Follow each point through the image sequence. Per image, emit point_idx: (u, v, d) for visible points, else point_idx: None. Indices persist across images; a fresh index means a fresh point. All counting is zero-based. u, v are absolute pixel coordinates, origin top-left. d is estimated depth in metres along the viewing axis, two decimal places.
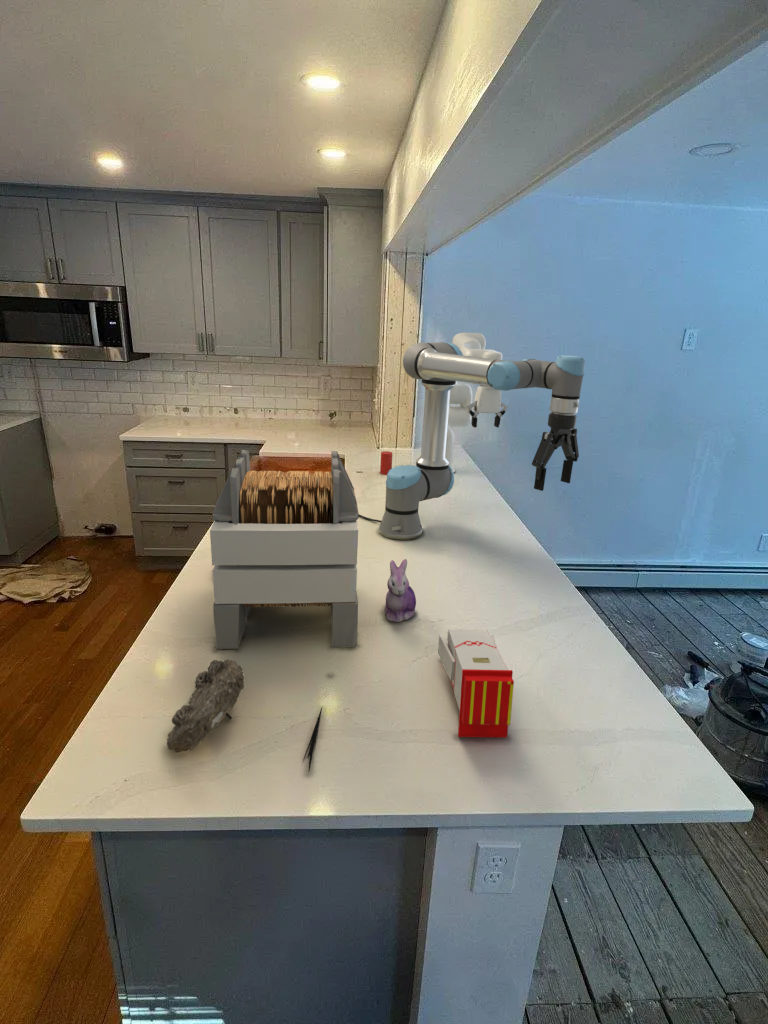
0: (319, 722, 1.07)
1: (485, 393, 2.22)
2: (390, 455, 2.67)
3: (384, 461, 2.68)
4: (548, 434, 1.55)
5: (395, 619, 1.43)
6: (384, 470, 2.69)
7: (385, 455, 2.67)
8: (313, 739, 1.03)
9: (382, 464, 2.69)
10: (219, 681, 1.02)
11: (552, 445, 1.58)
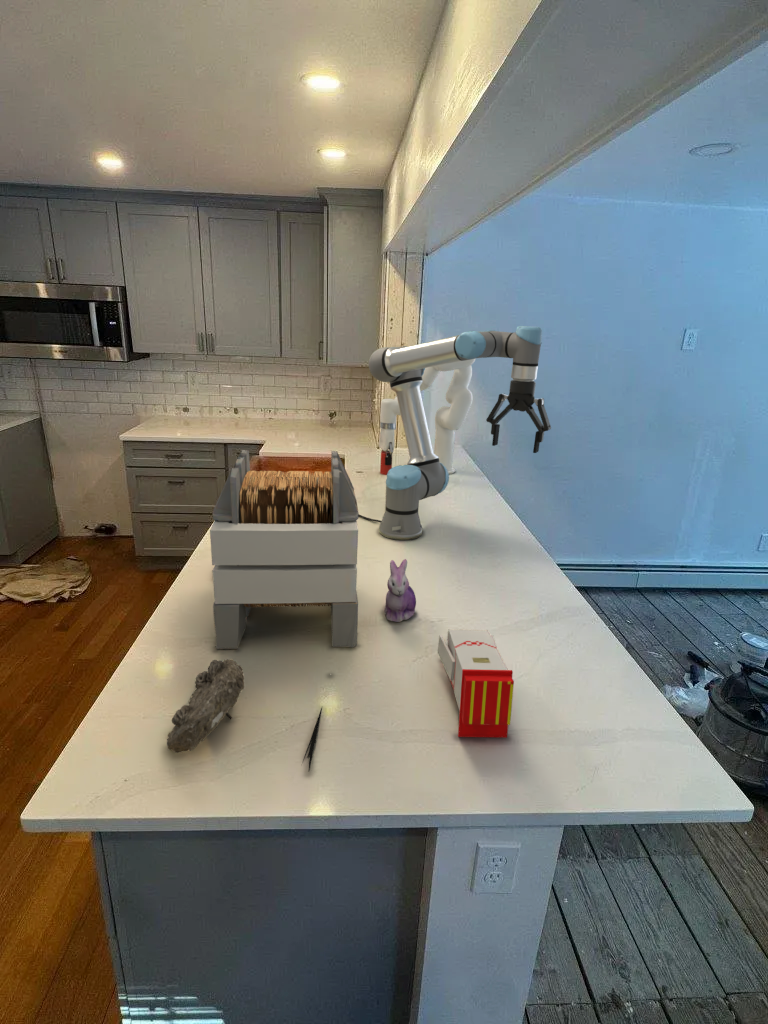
0: (319, 722, 1.07)
1: (394, 434, 2.64)
2: None
3: (384, 461, 2.68)
4: (543, 399, 1.70)
5: (395, 619, 1.43)
6: (384, 470, 2.69)
7: (385, 455, 2.67)
8: (313, 739, 1.03)
9: (382, 464, 2.69)
10: (219, 681, 1.02)
11: (532, 409, 1.73)
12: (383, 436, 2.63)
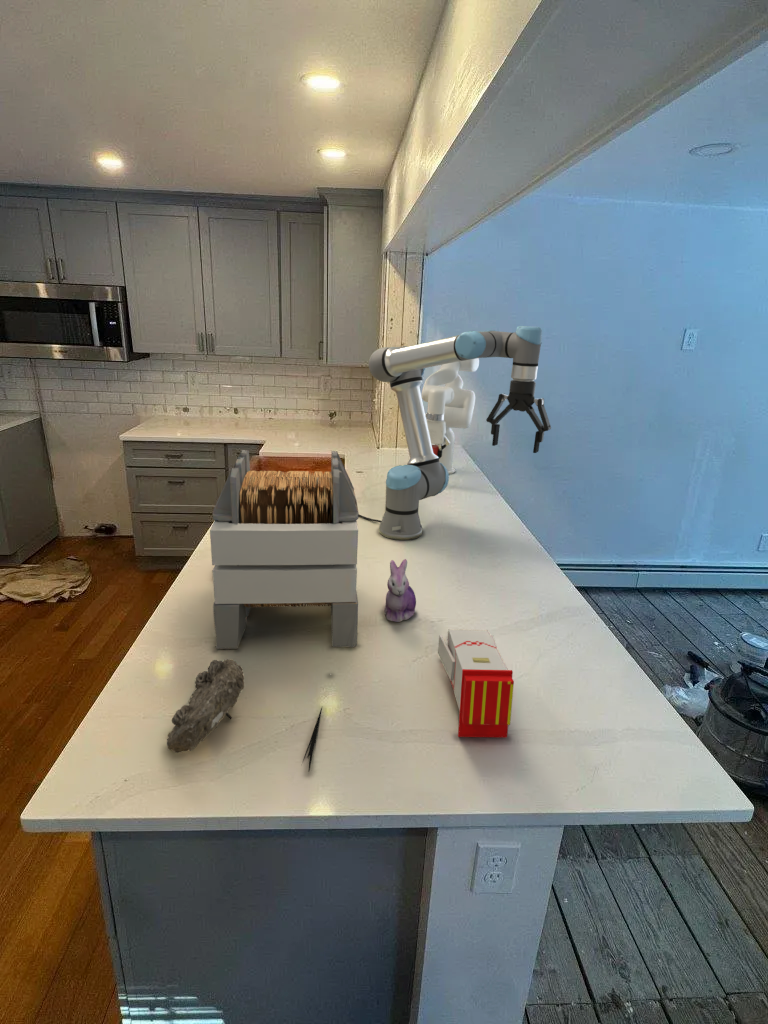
0: (319, 722, 1.07)
1: None
2: None
3: None
4: (543, 399, 1.70)
5: (395, 619, 1.43)
6: None
7: (437, 449, 2.50)
8: (313, 739, 1.03)
9: None
10: (219, 681, 1.02)
11: (532, 409, 1.73)
12: (437, 429, 2.46)
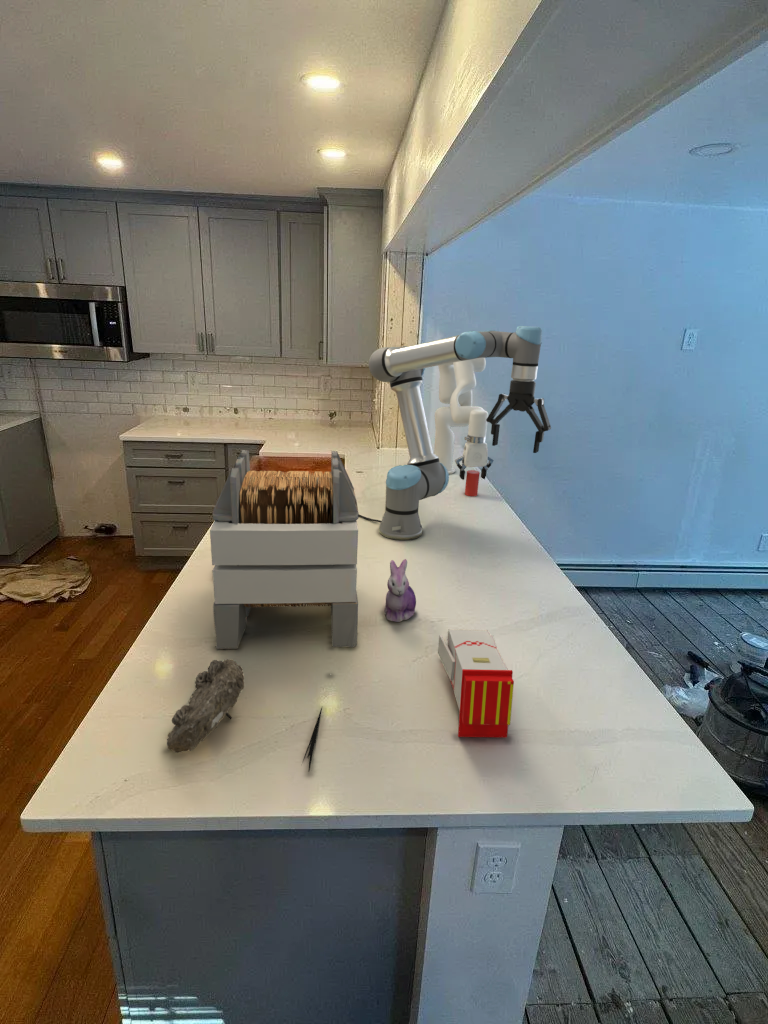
0: (319, 722, 1.07)
1: None
2: None
3: (478, 481, 2.43)
4: (543, 399, 1.70)
5: (395, 619, 1.43)
6: (477, 490, 2.45)
7: None
8: (313, 739, 1.03)
9: (477, 485, 2.43)
10: (219, 681, 1.02)
11: (532, 409, 1.73)
12: (483, 451, 2.38)
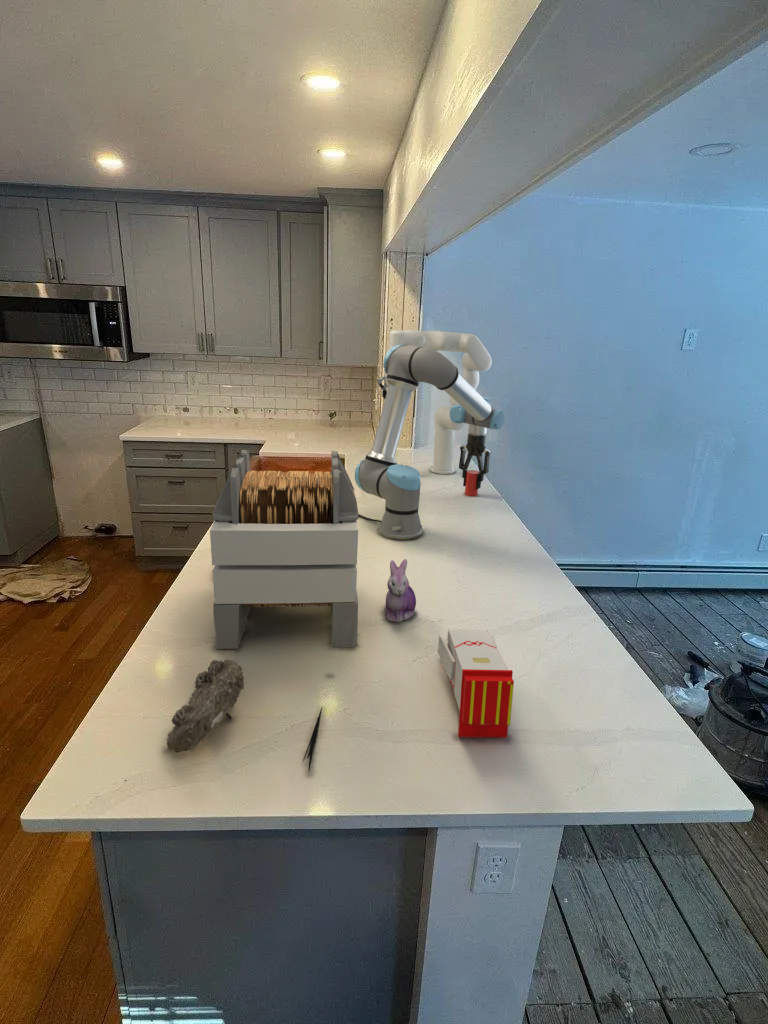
0: (319, 722, 1.07)
1: None
2: None
3: None
4: (490, 452, 2.37)
5: (395, 619, 1.43)
6: (477, 490, 2.45)
7: None
8: (313, 739, 1.03)
9: None
10: (219, 681, 1.02)
11: (481, 457, 2.40)
12: None
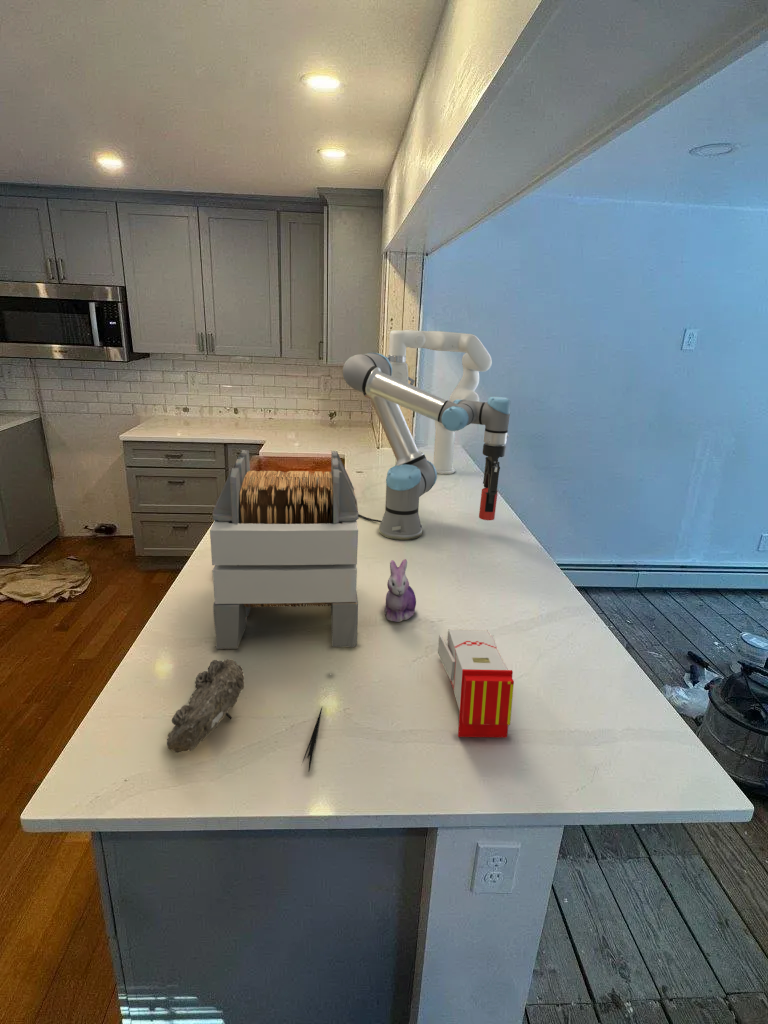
0: (319, 722, 1.07)
1: None
2: None
3: None
4: (498, 468, 1.87)
5: (395, 619, 1.43)
6: (490, 515, 1.97)
7: None
8: (313, 739, 1.03)
9: None
10: (219, 681, 1.02)
11: None
12: (403, 370, 2.49)
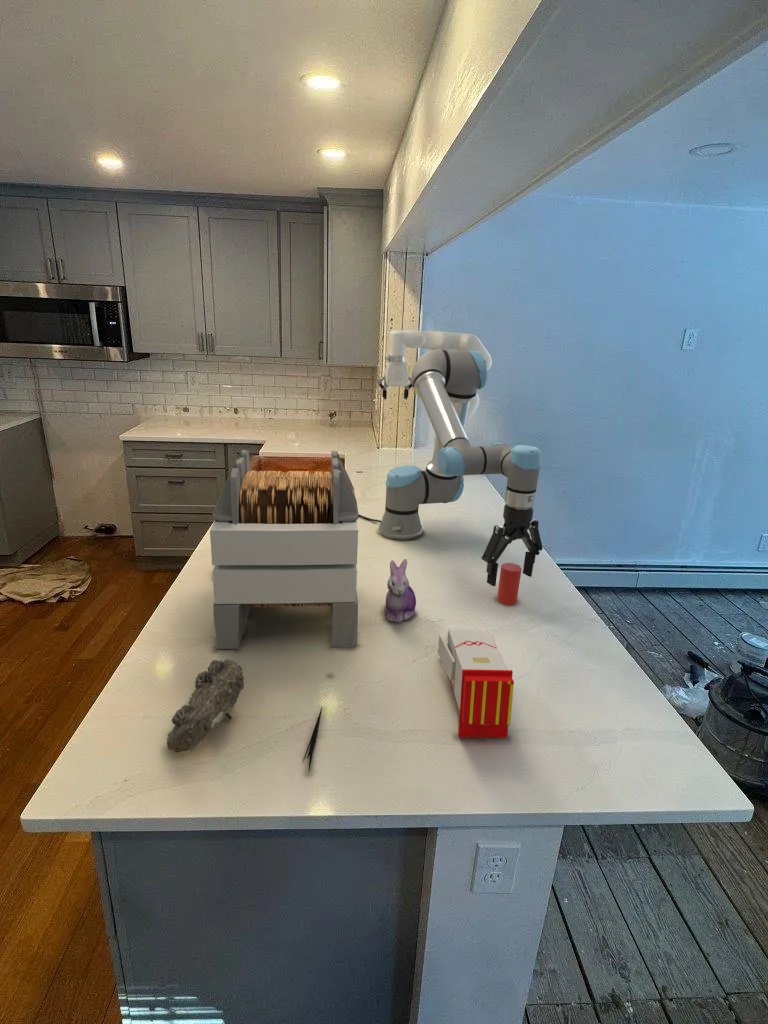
0: (319, 722, 1.07)
1: None
2: (515, 574, 1.51)
3: (503, 582, 1.53)
4: (498, 529, 1.46)
5: (395, 619, 1.43)
6: (502, 597, 1.54)
7: (506, 572, 1.52)
8: (313, 739, 1.03)
9: (500, 585, 1.55)
10: (219, 681, 1.02)
11: (505, 539, 1.48)
12: (403, 370, 2.49)
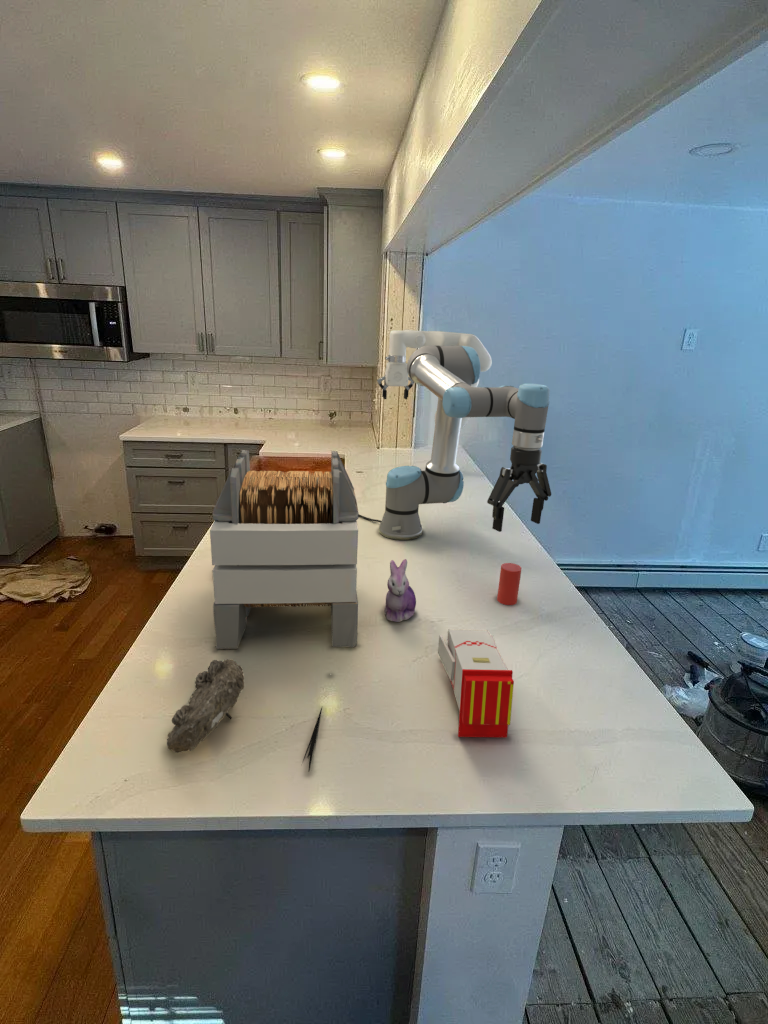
0: (319, 722, 1.07)
1: None
2: (515, 574, 1.51)
3: (503, 582, 1.53)
4: (505, 470, 1.40)
5: (395, 619, 1.43)
6: (502, 597, 1.54)
7: (506, 572, 1.52)
8: (313, 739, 1.03)
9: (500, 585, 1.55)
10: (219, 681, 1.02)
11: (512, 482, 1.43)
12: (403, 370, 2.49)
